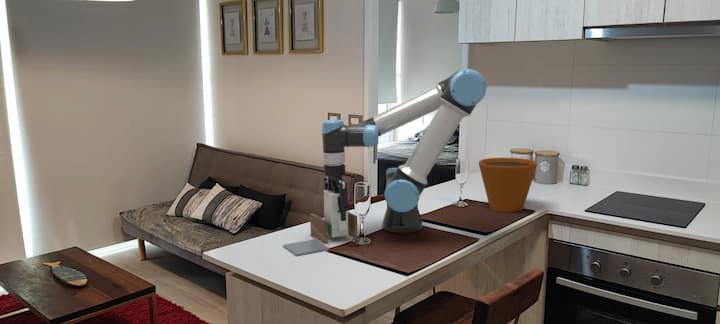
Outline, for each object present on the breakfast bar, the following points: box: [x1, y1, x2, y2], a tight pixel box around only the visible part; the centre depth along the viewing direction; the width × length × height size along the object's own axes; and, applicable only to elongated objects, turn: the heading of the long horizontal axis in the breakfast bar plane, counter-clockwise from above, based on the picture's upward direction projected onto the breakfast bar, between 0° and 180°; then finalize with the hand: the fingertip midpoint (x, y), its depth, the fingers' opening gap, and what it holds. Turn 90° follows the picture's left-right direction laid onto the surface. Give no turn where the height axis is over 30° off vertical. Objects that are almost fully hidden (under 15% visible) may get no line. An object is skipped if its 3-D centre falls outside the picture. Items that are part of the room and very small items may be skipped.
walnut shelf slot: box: [309, 211, 359, 245], centre depth 194 cm, size 13×12×8 cm
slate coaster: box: [282, 238, 331, 257], centre depth 181 cm, size 12×12×1 cm
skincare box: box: [323, 189, 349, 238], centre depth 191 cm, size 8×7×16 cm
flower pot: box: [478, 157, 538, 213], centre depth 229 cm, size 24×24×20 cm
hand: (336, 226), depth 192 cm, fingers closed on skincare box, 8 cm apart
